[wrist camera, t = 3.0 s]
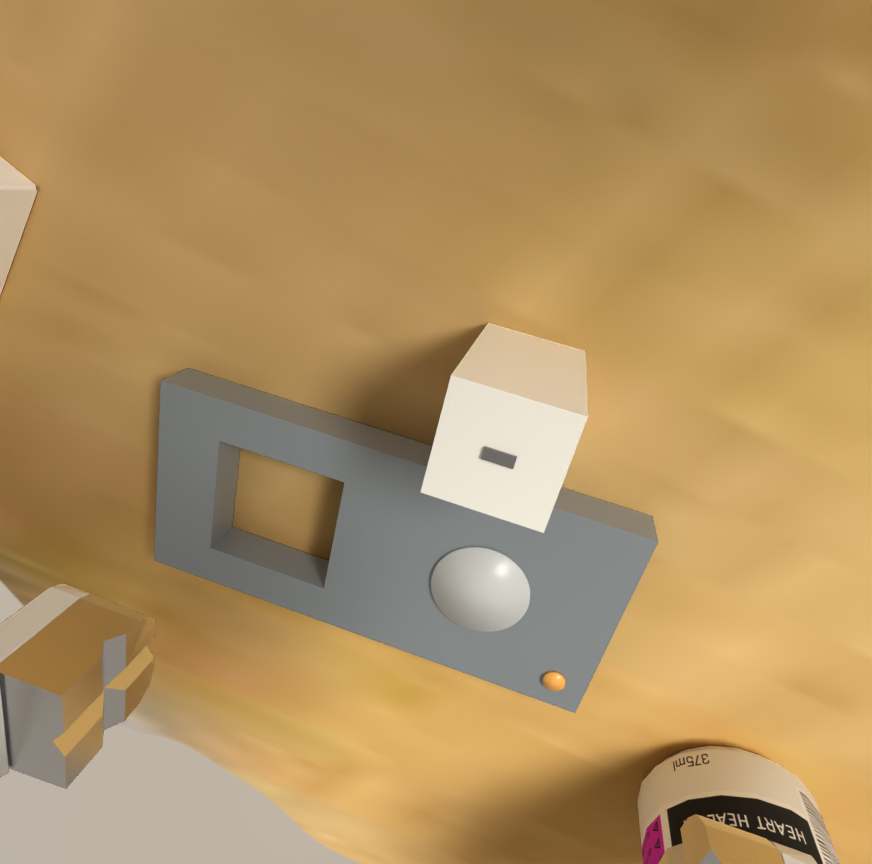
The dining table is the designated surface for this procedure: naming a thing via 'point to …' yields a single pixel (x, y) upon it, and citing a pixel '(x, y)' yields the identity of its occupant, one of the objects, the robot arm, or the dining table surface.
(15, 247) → the gable box
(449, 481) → the block
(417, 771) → the dining table surface
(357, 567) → the power board
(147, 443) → the dining table surface
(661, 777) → the supplement can
